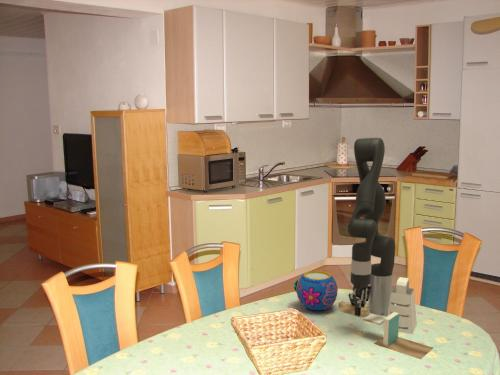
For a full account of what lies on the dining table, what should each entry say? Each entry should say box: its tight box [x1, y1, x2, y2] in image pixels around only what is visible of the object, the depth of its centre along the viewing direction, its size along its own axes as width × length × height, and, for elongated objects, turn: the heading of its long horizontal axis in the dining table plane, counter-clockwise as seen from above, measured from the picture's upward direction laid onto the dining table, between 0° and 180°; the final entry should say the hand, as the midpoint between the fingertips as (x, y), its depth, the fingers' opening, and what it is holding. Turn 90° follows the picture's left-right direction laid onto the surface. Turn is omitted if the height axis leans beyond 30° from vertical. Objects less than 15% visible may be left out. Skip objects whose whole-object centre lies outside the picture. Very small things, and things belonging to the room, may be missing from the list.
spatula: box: [338, 300, 386, 326], centre depth 201 cm, size 18×6×3 cm, turn 48°
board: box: [373, 336, 434, 360], centre depth 191 cm, size 11×18×1 cm, turn 49°
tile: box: [382, 312, 400, 346], centre depth 193 cm, size 8×2×10 cm, turn 139°
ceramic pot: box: [293, 270, 339, 311], centre depth 227 cm, size 18×18×15 cm
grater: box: [386, 276, 418, 335], centre depth 206 cm, size 10×10×20 cm
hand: (359, 314), depth 201 cm, fingers closed on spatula, 2 cm apart
